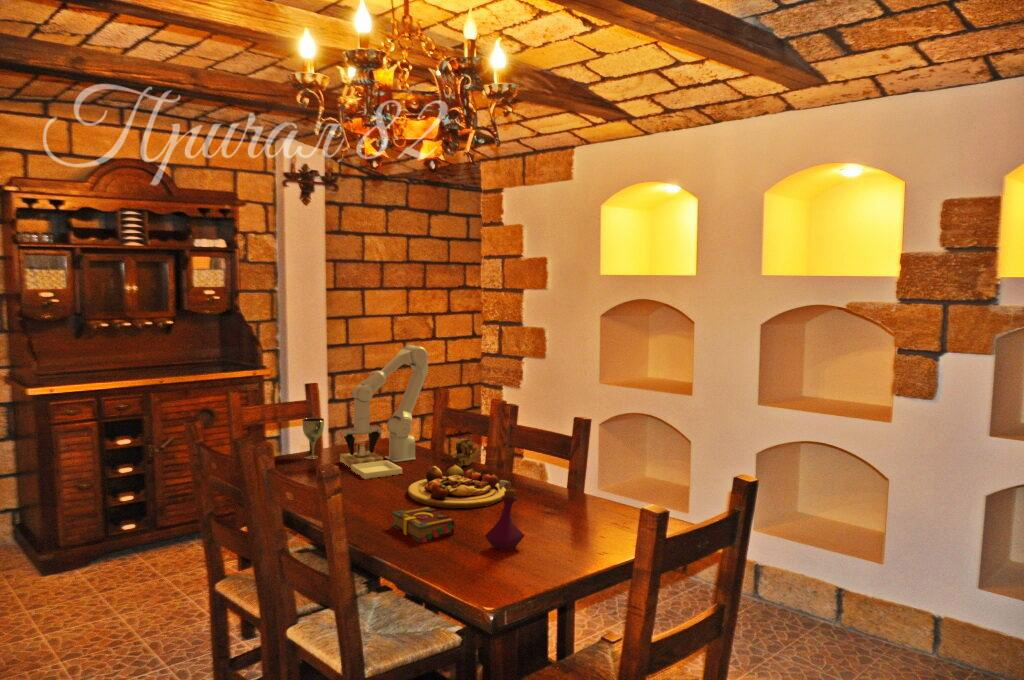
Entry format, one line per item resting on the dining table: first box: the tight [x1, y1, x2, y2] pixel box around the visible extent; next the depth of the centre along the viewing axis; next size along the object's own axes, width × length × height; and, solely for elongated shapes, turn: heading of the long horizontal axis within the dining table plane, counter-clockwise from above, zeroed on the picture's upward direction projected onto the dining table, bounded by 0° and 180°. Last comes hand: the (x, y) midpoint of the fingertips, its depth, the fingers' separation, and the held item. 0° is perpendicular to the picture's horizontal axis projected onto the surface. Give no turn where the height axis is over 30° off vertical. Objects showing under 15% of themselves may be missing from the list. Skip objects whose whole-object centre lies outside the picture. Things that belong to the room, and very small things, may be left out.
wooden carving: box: [452, 438, 478, 468], centre depth 273 cm, size 16×5×10 cm, turn 162°
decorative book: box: [391, 505, 455, 544], centre depth 201 cm, size 11×16×5 cm
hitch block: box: [339, 450, 384, 469], centre depth 272 cm, size 12×12×3 cm
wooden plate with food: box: [407, 464, 507, 509], centre depth 237 cm, size 32×32×8 cm
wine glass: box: [301, 417, 325, 459], centre depth 277 cm, size 8×8×15 cm
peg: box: [356, 441, 368, 458], centre depth 271 cm, size 4×4×8 cm
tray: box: [350, 459, 403, 480], centre depth 260 cm, size 14×13×2 cm
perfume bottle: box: [484, 479, 525, 552], centre depth 190 cm, size 8×8×18 cm
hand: (361, 453), depth 271 cm, fingers open, 7 cm apart
